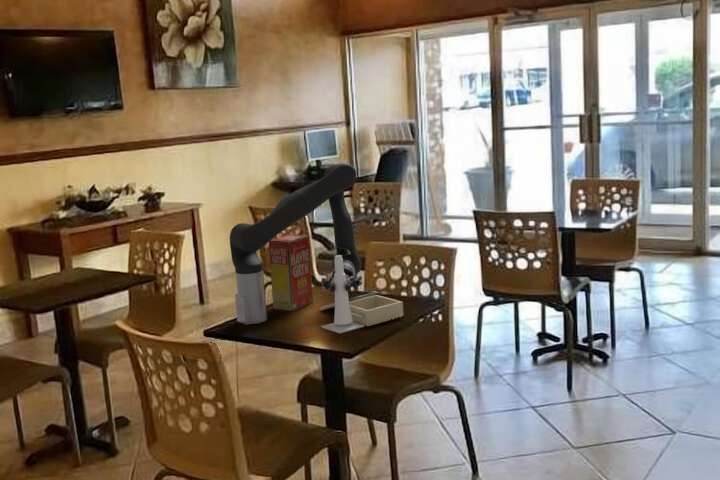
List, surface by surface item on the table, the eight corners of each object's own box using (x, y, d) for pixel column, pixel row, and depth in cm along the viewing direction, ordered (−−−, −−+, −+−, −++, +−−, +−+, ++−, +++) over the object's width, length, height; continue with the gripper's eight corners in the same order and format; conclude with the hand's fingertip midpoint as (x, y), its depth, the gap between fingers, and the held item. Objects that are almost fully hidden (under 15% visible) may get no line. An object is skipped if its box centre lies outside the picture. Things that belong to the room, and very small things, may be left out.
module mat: (339, 333, 244) (339, 332, 244) (321, 327, 252) (321, 326, 252) (364, 326, 250) (364, 325, 250) (346, 320, 258) (346, 319, 258)
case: (365, 326, 249) (364, 309, 248) (338, 318, 261) (336, 301, 260) (403, 316, 259) (402, 299, 258) (375, 308, 271) (374, 291, 270)
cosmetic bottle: (348, 318, 255) (343, 252, 250) (355, 322, 249) (350, 256, 245) (331, 321, 253) (326, 255, 248) (338, 326, 247) (332, 258, 243)
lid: (319, 307, 272) (320, 309, 272) (339, 300, 261) (340, 303, 261) (352, 299, 280) (353, 301, 280) (373, 292, 270) (374, 294, 270)
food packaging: (293, 311, 273) (287, 241, 268) (271, 309, 278) (266, 240, 273) (314, 302, 284) (310, 234, 279) (293, 299, 289) (288, 233, 284)
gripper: (321, 265, 262) (316, 278, 245) (363, 263, 261) (361, 275, 245) (323, 287, 264) (318, 301, 247) (365, 285, 263) (363, 298, 246)
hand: (339, 288), depth 246 cm, fingers closed on cosmetic bottle, 4 cm apart
